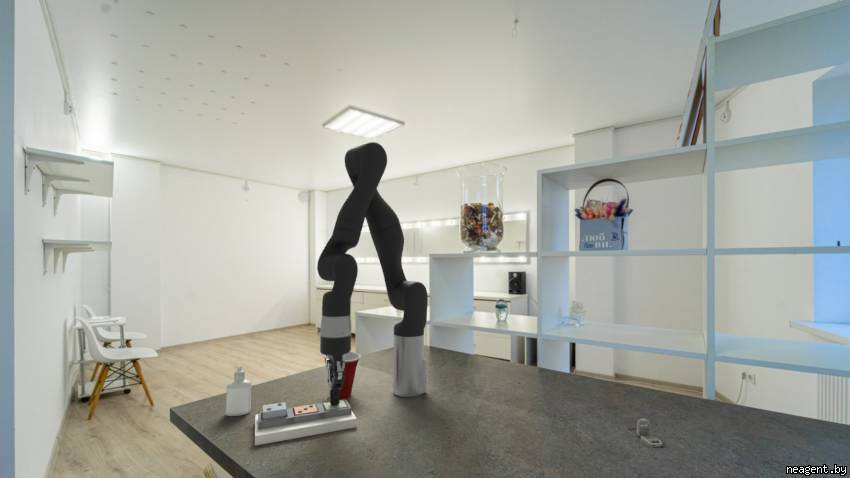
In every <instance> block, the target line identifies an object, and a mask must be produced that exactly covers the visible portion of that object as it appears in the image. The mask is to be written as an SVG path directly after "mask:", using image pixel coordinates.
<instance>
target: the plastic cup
mask: <svg viewBox="0 0 850 478" xmlns="http://www.w3.org/2000/svg"><path fill="white" fill-rule="evenodd" d="M328 356H329V355H324V354H323V358H324V361H325V362H324V363H325V364H326V360H328ZM342 357H343V361H345V368H344V371H345V372H346V375H345V379H344V383H343V387H342V389H340V400H345V399H347V398H349V397H352V396H351V395H352V390H353V385H354V383H355V382H354V381H355V375H356V371H357V366H358V364H359V360H360V359H361V357H362V356H361V354H360V353H357V352H354V351H350V352H349V353H347V354H344V355H343V356H342ZM325 367H326V369H327V366H326V365H325Z"/></svg>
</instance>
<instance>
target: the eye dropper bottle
mask: <svg viewBox="0 0 850 478" xmlns="http://www.w3.org/2000/svg"><path fill="white" fill-rule="evenodd" d="M242 367H243V366H242V365H239V366H237V370H235V371H234V372H233V374H234V375H233V381H230V382H229V383H228V384H227V386H226V395H225V396H226V398H225V415H226V416H228V417H237V416H238V417H239V416H244V415H248V414H249V413H250V412H251V408H252V407H251V406H252V405H251V404H252V403H251V401H252V382H251V381H250V380H249V379H245V377H246V371H245V370H243V368H242Z"/></svg>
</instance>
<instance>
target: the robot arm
mask: <svg viewBox="0 0 850 478" xmlns="http://www.w3.org/2000/svg"><path fill="white" fill-rule="evenodd" d="M387 164H388V155H387V152H386V149H385V148H384V146H382V145H381V144H380V143H378V142H376V141H370V142H366V143H361V144H360V145H356V146H354V147H352V148H349V149H348V150H347V151H346V152H345V155H344V165H345V166H344V167H345V170H346V172H347V175H348V177H349V180H350V182H351V185H352V186H353V189H352V190H351V192H350V194H349V195H348V197H346V199H345V200H344V203H343V204H342V206H341V208H340V210H339V211H338V214H337V216H336V220H335V223H334V226H333V231H332V235H331V236H330V238H329V240H328V241H327V243H326V244H325V246H324V248H323V249H322V251H321V253H320V255H319V257H318V260H317V263H316V264H317V266H316V268H317V269H316V270H317V273H318V274H317V275H318V276H319V277H320V278H321V279H322V280H324V281H326V282H333V286H332V287H331V288H332V289H331V290H329V291H327V292H325V293H323V295H322V299H321V300H322V306H321V321H320V333H319V334H320V339H319V341H320V342H319V347H320V348H319V352H320V354H322V355H323V356H324V355H329V356H328V360H326V363H325V367H326V366H327V368H326V377H327V383H328V388H329V402H330V404H331V405H338V404H339V403H340V400H341V399H340V389H342V387H343V383H344V379H345V375H346V372H345V371H344V368H345V361H343V357H342V356H343V355H344V354H347V353H349V352H352V351H351V350H352V318H351V311H352V309H351V308H352V307H351V304H352V302H351V301H352V300H351V299H352V295H353V293H354V288H355V285H356V282H357V278H358V273H359V267H358V262H357V260H356V258H355V257H354V256H353V255H352V254H350V253H347V252H348V251H349V250H352V249H354V248H356V247H357V245H359V241H360V238H361V234H362V231H363V228H364V227H363V226H364V222H365V220H366V223H367V227H368V230H369V234H370V237H371V240H372V243H373V245H374V248H375V251H376V254H377V257H378V261H379V264H380V268H381V270H382V275H383V279H384V284H385V289H386V293H387V298H388V301H389V303H390V305H391V306H392V307H393V308H394V309H395V310H397V311H403V318H402V320H401V321H400V322H397V323H395V324H394V326H393V356H392V357H393V359H392V360H393V363H392V365H393V368H392V369H393V373H392V374H393V376H392V378H393V379H392V380H393V381H392V389H393V390H392V391H393V394H394V395H396V396H398V397H402V398H414V397H418V396H421V395H422V394H425V393H426V394H427V360H426V359H425V328H426V324H427V322H428V321H427V320H428V318H427V317H428V301H429V300H428V299H429V298H428V297H429V296H428V290H427V288H426V286H425V285H424V283H422V282H420V281H415V280H414V281H412V280H407V278H406V275H405V272H404V269H403V263H402V258H403V252H404V245H405V236H404V233H403V231H404V230H403V228H402V225H401V223H400V219H399V217H398V215H397V214H396V212H395V211H394V209H393V208H392V207H391V206H390V204H388V202H386V200H385V199H384V198H383V197H382V196H381V194H380V193H379V191H378V187H379V185H380V182H381V179H382V177H383V175H384V173H385V170H386V168H387Z"/></svg>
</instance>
